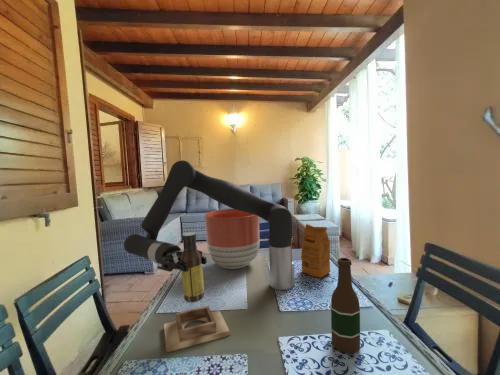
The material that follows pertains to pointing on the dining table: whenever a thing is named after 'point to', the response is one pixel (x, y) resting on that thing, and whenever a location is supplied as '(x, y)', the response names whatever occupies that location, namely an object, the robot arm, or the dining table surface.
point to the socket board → (194, 328)
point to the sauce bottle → (192, 269)
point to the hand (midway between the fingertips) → (196, 264)
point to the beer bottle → (345, 311)
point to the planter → (232, 237)
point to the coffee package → (315, 251)
